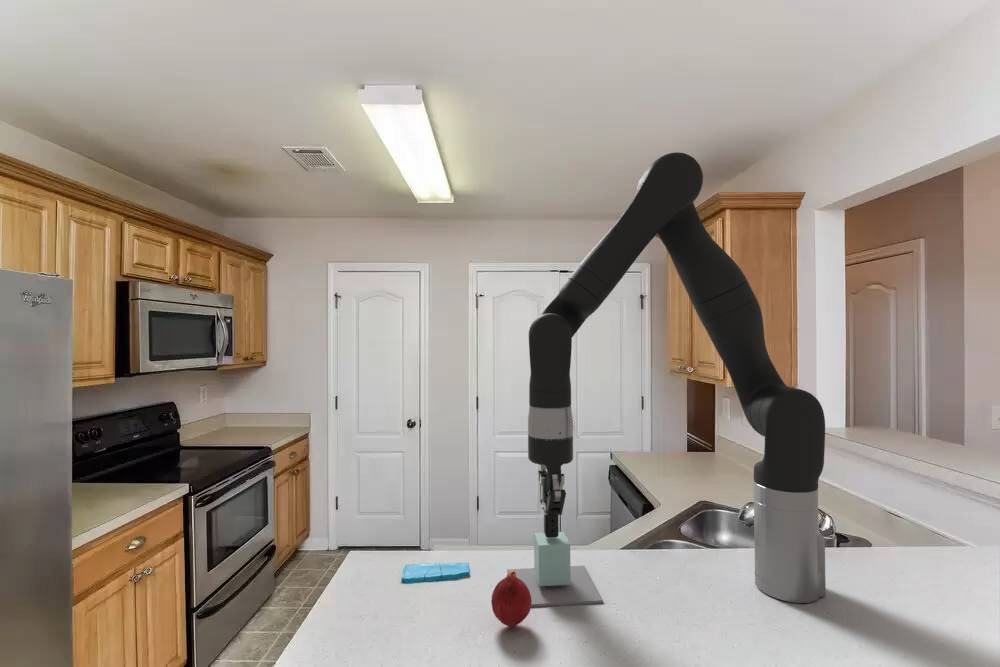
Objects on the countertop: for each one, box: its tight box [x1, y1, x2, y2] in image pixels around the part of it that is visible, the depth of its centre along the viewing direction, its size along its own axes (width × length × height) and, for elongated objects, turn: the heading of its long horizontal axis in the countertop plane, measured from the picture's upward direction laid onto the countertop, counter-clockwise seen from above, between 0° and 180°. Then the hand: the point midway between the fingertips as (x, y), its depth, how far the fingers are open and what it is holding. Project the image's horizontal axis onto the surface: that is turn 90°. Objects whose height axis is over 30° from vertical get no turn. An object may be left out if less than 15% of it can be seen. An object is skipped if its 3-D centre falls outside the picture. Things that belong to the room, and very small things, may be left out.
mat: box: [506, 565, 604, 608], centre depth 85 cm, size 14×12×1 cm
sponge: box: [400, 561, 471, 584], centre depth 89 cm, size 2×12×6 cm
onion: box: [490, 570, 532, 628], centre depth 73 cm, size 6×6×8 cm
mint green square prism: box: [533, 531, 571, 586], centre depth 85 cm, size 5×5×7 cm
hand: (551, 535), depth 85 cm, fingers closed
